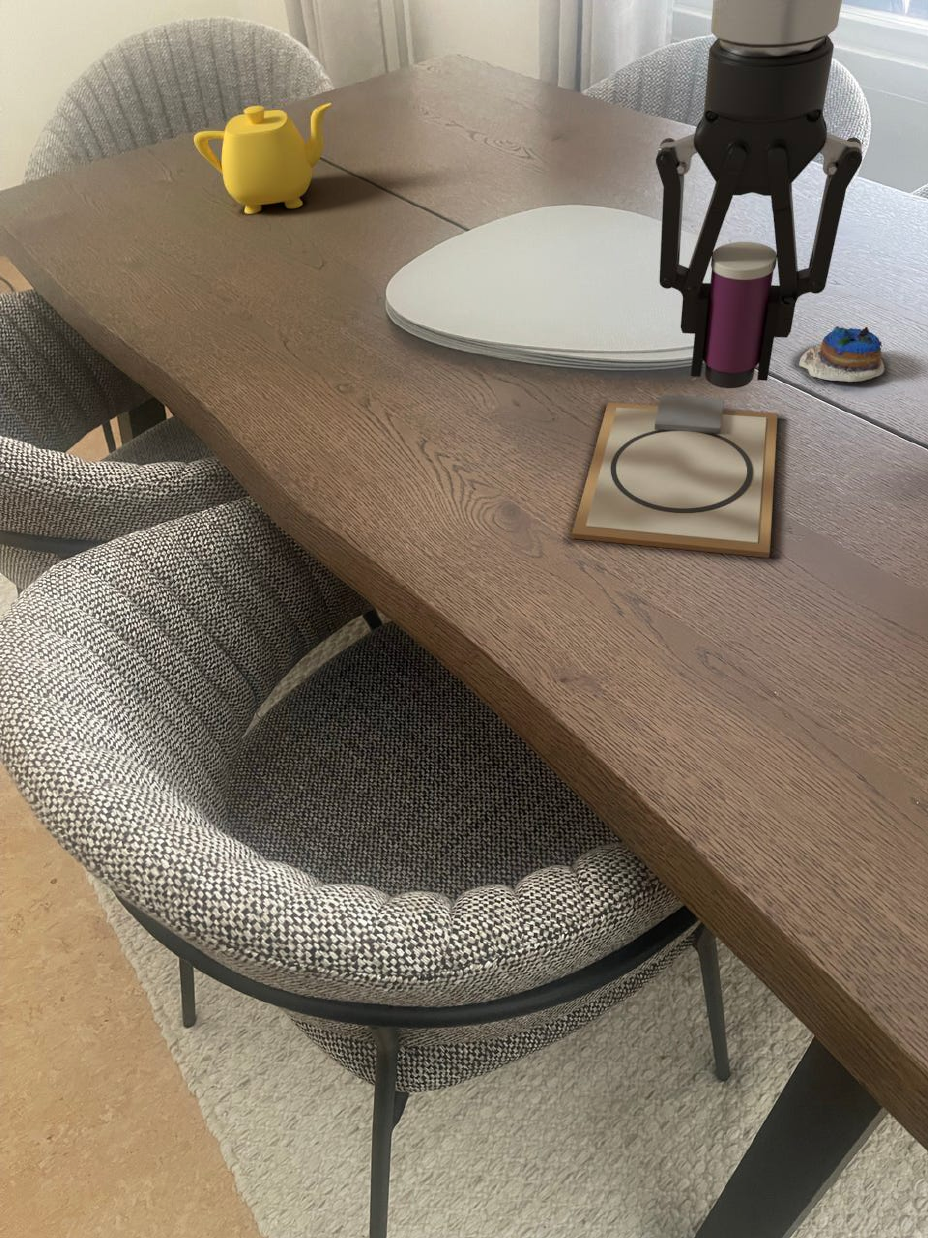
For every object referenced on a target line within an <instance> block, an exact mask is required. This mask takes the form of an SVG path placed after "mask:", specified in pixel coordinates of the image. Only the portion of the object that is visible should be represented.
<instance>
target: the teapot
mask: <svg viewBox="0 0 928 1238" xmlns="http://www.w3.org/2000/svg"><path fill="white" fill-rule="evenodd" d="M331 105H332V102H328V103H325V104H322V105H320V106H318V107H316V108H314V110H313V111H312V112H311V113H312V114H311V116H310V138H309V139H308V141H307V142H306V143H305V140H304V139H303V137H302V135H301V134H300V132H299V129H298V128H297V127H296V125H295V124H294V122H293V120H292V119H291V117H290V116H289V115H288V113H287V112H285V111H283V110H281V109H272V110H265V107H264V106H261V105H252V106H248V107H247V108H245V109H244V110H243V113H241V114H238V115H236V116H234V117H232V118H230V120H229V121H228V122H227V123H226V126H225V129H224V130H223V131H222V130H204V131H198V132H197V133H196V134H195V135H194V136H193V142H194V145H195V147H196V149H197V151H198V152H199V154H201V156H202V157H203V158H204V159H205V160H206V161H207V162H208V163H210V165H212V166H213V167H214V168H215V169H216V170H217V171H218V172H220V173H221V174H222V180H223V183H224V186H225V188H226V190H227V192H228V194H229V195H230V196H231V198H233V199H234V201H236V202H237V203H238V204H239V205H242V206H245V207H244V213H245V214H248V215H249V214H251V215H252V214H256V213H259V212H261V210H262V205H263V206H264V205H271V204H278V203H279V204H280V203H284V205H285V208H287V209H296V208H299V207H301V206H303V201H302V199H301V198H300V197H302V196H303V195H304V194H305V193H306V192H307V190H308V189H309V187H310V184H311V181H312V178H313V176H314V175H313V174H314V167H315V166H316V165H317V164H318V162H319V161H320V159H321V157H322V154H323V149H324V148H323V147H324V142H323V141H324V140H323V137H324V136H323V128H322V126H323V124H322V123H323V118H324V115H325V112H326V111H327V110H328V109H329V108H330V107H331ZM211 140H222V149H221V161H220V159H218V157H217V156H216V155H215V154H214V152H213V151H212V149H211V147H210V145H209V141H211Z"/></svg>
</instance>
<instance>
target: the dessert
mask: <svg viewBox="0 0 928 1238" xmlns="http://www.w3.org/2000/svg"><path fill="white" fill-rule="evenodd" d="M882 348H883V345H882V341H881V340H880V338H879V337H878V336H876V335H875V334H874V333H873V332H871V331H870V330H869V328H868V326H865V327H864V328H863V329H861V328H857V327H855V328H852V327H849V328H845V327H843V326H841V327H840V326H839V325H837V326H834V328H833V329H832V331H830V332H828V334H826V335H825V336H823V339H822V341H821V344H817V345H816V346H815V345H813V346H812V347H811V348H809V349H808V350H807V351H806V352H804V353H803V354H802V355H801V357H800V359H799V363H798V365H799V367H802V368H804V369H806V370H807V372H808V374H809V376H811V377H813V378H817V379H820V380H825V381H829V382H830V381H834V382H835V381H837V382H838V381H839V382H848V383H852V382H853V383H856V382H864V381H868V380H871V379H873V378H876V377H879V376H882V375H883V373H884V372H885V365H884V361H883V360H882V358H881V357H882V353H883V351H882Z"/></svg>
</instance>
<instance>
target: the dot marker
mask: <svg viewBox="0 0 928 1238" xmlns="http://www.w3.org/2000/svg"><path fill="white" fill-rule="evenodd" d="M776 266H777V251H775V249H773V248H772V247H771V246H768V245H766V244H764V243H760V242H755V241H733V242H728V243H725V244H722V245H720V246H718V247H717V248H715V249H714V251H713V254H712V257H711V260H710V267H711V273H710V281H709V283H710V293H709V303H708V313H707V322H706V332H705V342H704V351H703V363H704V364H705V370H704V378H705V380H707V382H708V383H709V384H711V385H712V386H715V387H718V388H722V389H723V388H724V389H739V388H742V387H745V386H747V385H749V384H750V383H751V382H752V381H753V380H754V376H755V370H756V367H757V366H758V365H759V361H760V355H761V349H762V342H763V336H764V329H765V322H766V316H767V309H768V303H769V296H770V291H771V285H772V284H773V278H774V271H775V269H776Z"/></svg>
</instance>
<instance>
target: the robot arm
mask: <svg viewBox="0 0 928 1238" xmlns="http://www.w3.org/2000/svg"><path fill="white" fill-rule="evenodd" d="M842 3H843V0H712V11H711V23H710V32H711V33H712V34H713V36H715V38H716V39H715V41H713V43H712V44H711V46H710V47H709V49H708V57H707V58H708V61H707V72H706V73H707V74H706V82H705V84H706V85H705V94H704V106H703V115H702V117H701V119H700V120H699V122H698V124H697V125H696V128H695V131H694V133H692V134H689V135H687V136H684V137H681V138H679V139H677V140H675V139H673V138H671V137H667V138H664V139H663V140H662V141H661V142H660V145H659V148H658V151H657V154H656V158H655V165H656V167H657V171H658V174H659V177H660V180H661V184H662V186H663V191H662V214H661V215H662V216H661V235H660V236H661V237H660V238H661V240H660V257H659V258H660V259H659V260H660V261H659V281H658V282H659V285H660V286H661V287H662V288H663V289H667V290H668V289H674V290H677V291H678V292H679V293H680V294H681V296H682V306H681V318H680V330H681V332H682V334H693V335H694V337H693V338H694V340H693V349H692V358H691V359H692V360H691V371H690V372H691V373H690V377H697V378H701V375H702V371H703V364H704V360H703V351H704V342H705V332H706V322H707V313H708V303H709V293H710V282H704V279H705V277H706V274H707V272H708V268H709V266H710V264H711V259H712V254H713V252H714V251H715V249H716V245H717V242H718V239H719V236H720V234H721V231H722V228H723V225H724V223H725V222H724V221H725V219H726V216H727V213H728V212H729V209H730V206H731V204H732V200H733V197H734V196H743V195H746V194H757V195H760V196H763V197H767V196H768V197H770V202H771V210H772V211H771V212H772V217H773V228H774V238H775V240H774V241H775V249H776V251H775V252H776V254H777V261H776V264H777V273H778V283H779V284H777V285H774V284H773V285H771V291H770V296H769V303H768V309H767V316H766V322H765V329H764V336H763V342H762V349H761V355H760V361H759V363H758V364H757V378H756V380H757V381H766V382H767V381H768V377H769V372H770V365H771V360H772V353H773V348H774V347H773V346H774V341H775V338H786V339H787V338H788V337H789V335H790V334H791V332H792V325H793V322H794V314H795V310H796V309H795V308H796V303H797V301H798V299H799V298H800V297H802V296H803V295H805V294H809V293H811V294H815V295H817V294H820V293H822V292H823V291H825V289H826V285H827V281H828V276H829V271H830V266H831V262H832V257H833V253H834V247H835V243H836V238H837V234H838V229H839V225H840V221H841V217H842V216H841V215H842V211H843V207H844V201H845V197H846V192H847V188H848V187H849V185H850V184H851V182H852V180H853V178H854V177H855V175H856V173H857V172H858V170H859V168H860V166H861V165H862V163H863V149H862V141H861V139H860V138H857V137H849V138H847V139H843V138H841V137H839V136H837V135H834V134H831V133H829V132H828V126H827V123H826V121H825V118H824V108H825V104H826V103H825V101H826V97H827V96H826V95H827V91H828V85H829V84H828V83H829V77H830V72H831V67H832V61H833V54H834V48H835V44H834V42H833V41H832V39H831V37H830V36H829V35H830V34H832V33H833V32H834V31H835V30H836V29H837V28H838V26H839V25H838V24H839V20H840V14H841V8H842ZM696 154H697V155H698V156H699V157H700V159H701V160H702V162H703V164H704V165H705V168H706V169H707V171H708V172H709V173H710V175H711V176H712V178H713V180H714V181H715V184H714V187H713V191H712V195H711V197H710V201H709V203H708V207H707V210H706V213H705V216H704V219H703V222H702V225H701V228H700V230H699V234H698V237H697V240H696V244H695V246H694V250H693V253H692V256H691V259H690V262H689V265H688V267H687V266H685V265H682V264H680V259H681V258H680V257H681V243H682V242H681V241H682V237H681V236H682V222H683V221H682V220H683V204H684V191H685V175H686V174H687V173H688V172H689V171H690V170H691V165H692V160H693V159H692V158H693V156H695V155H696ZM818 154H821V155H822V156H823V160H822V171H823V173H824V174H825V175H826V178H825V183H824V187H823V195H822V198H821V203H820V207H819V208H820V209H819V214H818V218H817V224H816V227H815V234H814V239H813V243H812V248H811V254H810V258H809V259H810V260H809V262H808V263H809V264H808V267H807V268H803V269H799V268H798V267H799V265H798V254H797V253H798V252H797V240H796V229H795V228H796V227H795V226H796V225H795V213H794V200H793V182H794V181H795V180H796V179H797V178H798V177H799V176H800V175H801V173H802V172H803V171H804V170H805V169H806V168H807V166H809V165H810V164H811V162H812V161H813V160H814V159H815V158H816V157H817V156H818Z"/></svg>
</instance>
